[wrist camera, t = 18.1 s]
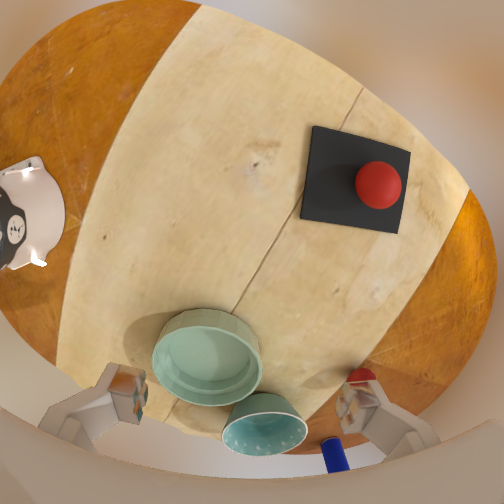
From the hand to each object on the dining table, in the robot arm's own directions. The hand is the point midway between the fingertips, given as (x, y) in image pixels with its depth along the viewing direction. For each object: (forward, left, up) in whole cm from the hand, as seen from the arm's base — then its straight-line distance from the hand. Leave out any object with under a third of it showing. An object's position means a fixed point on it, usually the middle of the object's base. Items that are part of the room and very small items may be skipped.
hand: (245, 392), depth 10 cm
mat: (+16, +9, -29) cm, 34 cm away
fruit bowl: (-3, -21, -29) cm, 36 cm away
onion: (+25, -25, -29) cm, 46 cm away
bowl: (+8, -35, -29) cm, 46 cm away
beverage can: (+28, -51, -29) cm, 65 cm away
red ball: (+16, +9, -28) cm, 33 cm away
